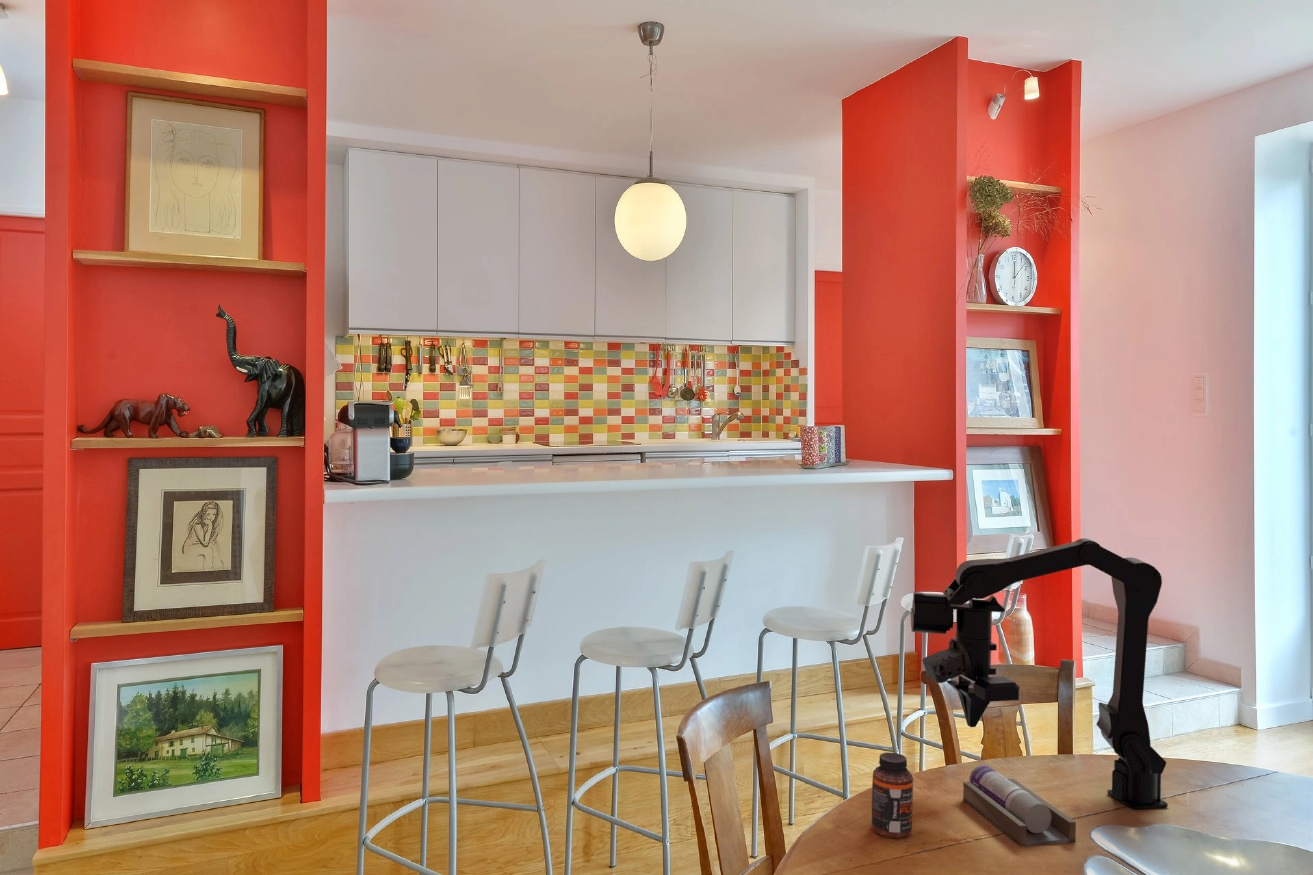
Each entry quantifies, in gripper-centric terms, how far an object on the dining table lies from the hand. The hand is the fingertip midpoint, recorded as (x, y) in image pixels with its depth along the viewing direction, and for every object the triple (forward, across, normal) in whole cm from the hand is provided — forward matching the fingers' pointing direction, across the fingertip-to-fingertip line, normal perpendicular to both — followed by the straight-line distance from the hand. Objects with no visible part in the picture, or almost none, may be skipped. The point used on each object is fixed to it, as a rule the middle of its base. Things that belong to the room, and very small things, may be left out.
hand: (971, 726), depth 148 cm
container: (+7, +4, 0) cm, 8 cm away
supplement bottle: (+10, +13, -21) cm, 27 cm away
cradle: (+10, +13, 0) cm, 17 cm away
